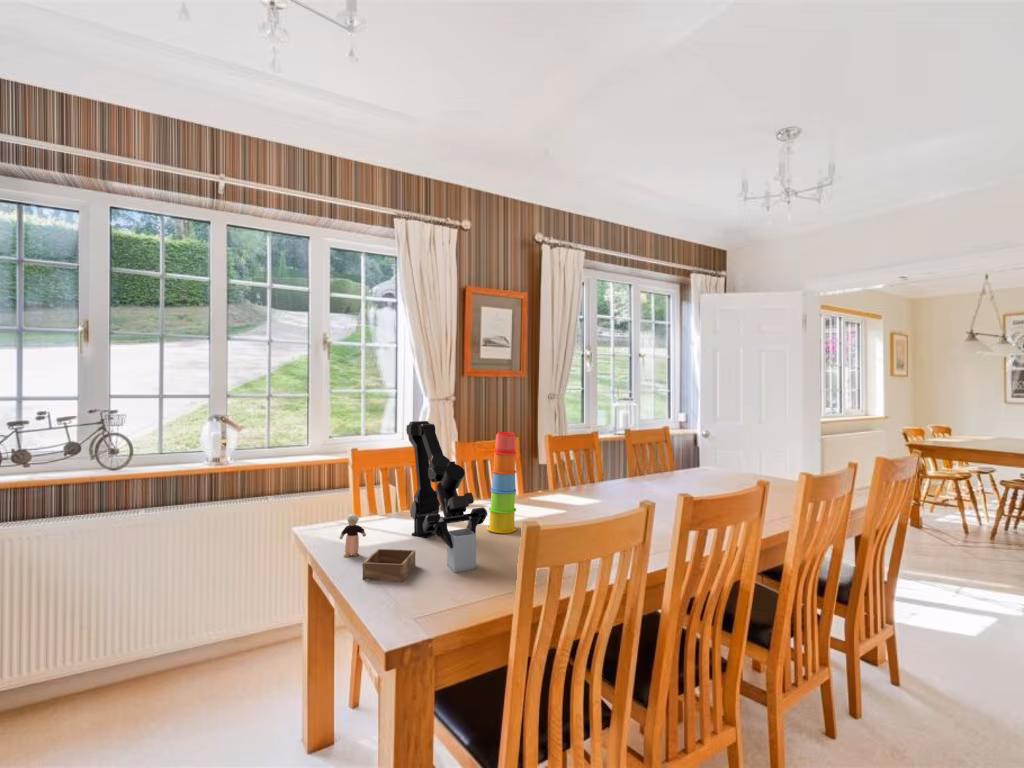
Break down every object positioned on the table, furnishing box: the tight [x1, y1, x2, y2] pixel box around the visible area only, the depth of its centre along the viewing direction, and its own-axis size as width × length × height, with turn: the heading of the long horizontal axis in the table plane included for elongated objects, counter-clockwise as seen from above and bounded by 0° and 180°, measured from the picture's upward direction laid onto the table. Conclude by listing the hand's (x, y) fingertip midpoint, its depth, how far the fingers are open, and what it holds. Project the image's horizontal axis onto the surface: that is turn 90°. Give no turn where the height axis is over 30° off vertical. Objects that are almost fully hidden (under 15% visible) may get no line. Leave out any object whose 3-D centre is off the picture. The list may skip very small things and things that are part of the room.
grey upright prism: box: [446, 527, 477, 574], centre depth 146 cm, size 6×6×10 cm
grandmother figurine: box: [338, 513, 367, 558], centre depth 156 cm, size 8×4×13 cm, turn 117°
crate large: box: [362, 548, 416, 582], centre depth 142 cm, size 11×11×4 cm
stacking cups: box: [487, 431, 517, 534], centre depth 181 cm, size 10×10×35 cm
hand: (463, 545), depth 145 cm, fingers closed on grey upright prism, 6 cm apart
